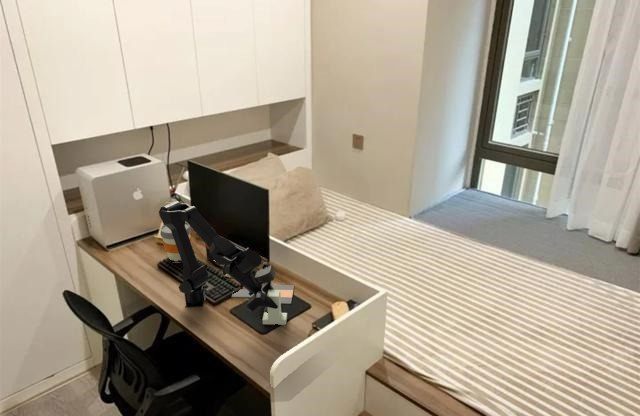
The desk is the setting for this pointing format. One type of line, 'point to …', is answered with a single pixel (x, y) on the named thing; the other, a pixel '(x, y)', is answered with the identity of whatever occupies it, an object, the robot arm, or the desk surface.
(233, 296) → the t mat
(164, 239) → the reusable coffee cup
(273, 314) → the t post
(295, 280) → the desk surface
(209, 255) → the battery
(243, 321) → the desk surface
